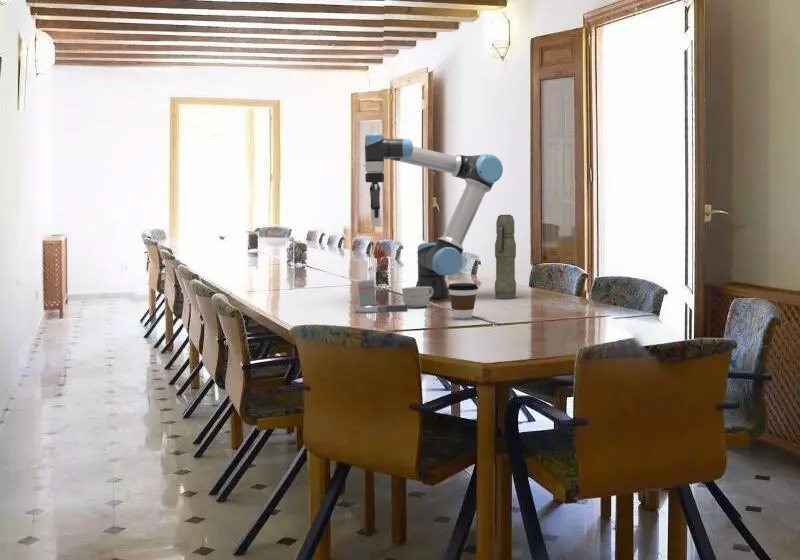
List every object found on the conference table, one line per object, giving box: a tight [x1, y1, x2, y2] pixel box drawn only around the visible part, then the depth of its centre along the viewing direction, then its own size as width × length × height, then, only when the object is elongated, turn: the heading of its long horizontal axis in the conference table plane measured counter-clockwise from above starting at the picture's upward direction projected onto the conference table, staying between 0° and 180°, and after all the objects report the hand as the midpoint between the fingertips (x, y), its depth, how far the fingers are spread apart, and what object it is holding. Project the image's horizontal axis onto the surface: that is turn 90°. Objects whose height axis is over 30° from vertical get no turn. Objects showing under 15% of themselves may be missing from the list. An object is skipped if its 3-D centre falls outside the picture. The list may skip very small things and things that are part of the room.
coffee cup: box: [447, 282, 479, 320], centre depth 338 cm, size 11×11×12 cm
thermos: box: [494, 214, 517, 300], centre depth 396 cm, size 9×12×35 cm
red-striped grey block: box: [357, 279, 377, 306], centre depth 358 cm, size 6×6×9 cm
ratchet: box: [355, 303, 408, 314], centre depth 359 cm, size 20×9×8 cm, turn 95°
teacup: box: [401, 286, 433, 309], centre depth 371 cm, size 14×11×8 cm
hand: (375, 225), depth 381 cm, fingers open, 13 cm apart
